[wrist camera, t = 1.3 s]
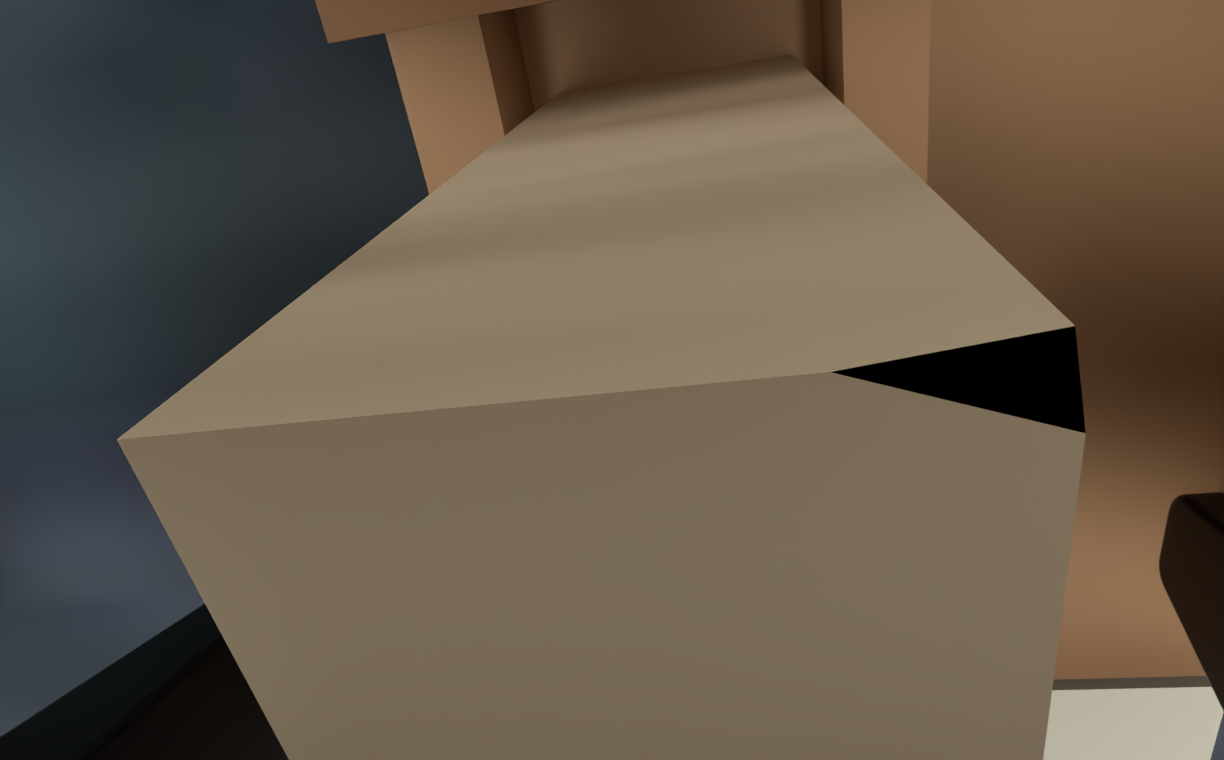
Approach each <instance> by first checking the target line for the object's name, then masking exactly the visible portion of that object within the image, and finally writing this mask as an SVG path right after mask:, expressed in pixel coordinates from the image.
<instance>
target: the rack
mask: <svg viewBox="0 0 1224 760" xmlns="http://www.w3.org/2000/svg"><path fill="white" fill-rule="evenodd" d="M315 2H316V5H317V8H318V12H319V15H320V18H321V21H322V25H323V28H324V31H325V34H326V38H327V41H328V43H333V42H339V41H344V40H350V39H355V38H361V37H367V36H372V35H378V34H384V33H385V35H386V39H387V42H388V46H389V50H390V53H391V57H392V60H393V64H394V68H395V71H396V75H397V79H398V82H399V86H400V89H401V93H402V97H403V100H404V104H405V108H406V111H407V115H408V119H409V122H410V126H411V129H412V133H413V137H414V140H415V144H416V148H417V151H418V155H419V158H420V162H421V166H422V169H423V173H424V177H425V180H426V184H427V188H428V191H429V195H430V194H431V193H432V192H433V191H435V190H436V189H437V188H439V187H440V186H441V185H442V184H444V183H445V182H446V181H448V180H449V179H450V178H451V177H453V176H454V175H455V174H456V173H458V172H459V171H460V170H462V169H463V168H464V167H465V166H467V165H468V164H469V163H471V162H472V161H473V160H474V159H476V158H477V157H478V156H479V155H481V154H482V153H483V152H485V151H486V150H487V149H488V148H490V147H491V146H492V145H494V144H495V143H496V142H497V141H499V140H500V139H501V138H502V137H504V136H505V135H506V134H508V133H509V132H510V131H511V130H513V129H514V128H515V127H516V126H518V125H519V124H520V123H522V122H523V121H524V120H525V119H527V118H528V117H529V116H531V115H532V114H533V113H534V112H536V111H537V110H538V109H539V108H541V107H542V106H543V105H545V104H546V103H547V102H548V101H550V100H551V99H552V98H554V97H555V96H556V95H557V94H559V93H563V92H569V91H575V90H581V89H587V88H593V87H599V86H605V85H611V84H617V83H623V82H628V81H634V80H640V79H646V78H652V77H658V76H664V75H670V74H676V73H682V72H688V71H694V70H700V69H706V68H712V67H718V66H724V65H730V64H736V63H742V62H748V61H754V60H760V59H766V58H772V57H778V56H784V55H790V54H791V55H792V56H793V57H794V58H795V59H797V60H798V61H799V62H800V63H801V64H802V65H803V66H804V67H805V68H806V69H807V70H808V71H809V72H810V73H811V74H812V75H813V76H814V77H815V78H816V79H817V80H818V81H820V82H821V83H822V84H823V85H824V86H825V87H826V88H827V89H828V90H829V91H830V92H831V93H832V94H833V95H834V96H835V97H836V98H837V99H838V100H839V101H840V102H842V103H843V104H844V105H845V106H846V107H847V108H848V109H849V110H850V111H851V112H852V113H853V114H854V115H855V116H856V117H857V118H858V119H859V120H860V121H861V122H862V123H863V124H865V125H866V126H867V127H868V128H869V129H870V130H871V131H872V132H873V133H874V134H875V135H876V136H877V137H878V138H879V139H880V140H881V141H882V142H883V143H884V144H885V145H887V146H888V147H889V148H890V149H891V150H892V151H893V152H894V153H895V154H896V155H897V156H898V157H899V158H900V159H901V160H902V161H903V162H904V163H905V164H906V165H907V166H908V167H910V168H911V169H912V170H913V171H914V172H915V173H916V174H917V175H918V176H919V177H920V178H921V179H922V180H923V181H924V182H925V183H926V184H927V185H928V186H929V187H930V188H932V189H933V190H934V191H935V192H936V193H937V194H938V195H939V196H940V197H941V198H942V199H943V200H944V201H945V202H946V203H947V204H948V205H949V206H950V207H951V208H952V209H953V210H955V211H956V212H957V213H958V214H959V215H960V216H961V217H962V218H963V219H964V220H965V221H966V222H967V223H968V224H969V225H970V226H971V227H972V228H973V229H974V230H975V231H977V232H978V233H979V234H980V235H981V236H982V237H983V238H984V239H985V240H986V241H987V242H988V243H989V244H990V245H991V246H992V247H993V248H994V249H995V250H996V251H997V252H998V253H1000V254H1001V255H1002V256H1003V257H1004V258H1005V259H1006V260H1007V261H1008V262H1009V263H1010V264H1011V265H1012V266H1013V267H1014V268H1015V269H1016V270H1017V271H1018V272H1019V273H1020V274H1022V275H1023V276H1024V277H1025V278H1026V279H1027V280H1028V281H1029V282H1030V283H1031V284H1032V285H1033V286H1034V287H1035V288H1036V289H1037V290H1038V291H1039V292H1040V293H1041V294H1042V295H1043V296H1045V297H1046V298H1047V299H1048V300H1049V301H1050V302H1051V303H1052V304H1053V305H1054V306H1055V307H1056V308H1057V309H1058V310H1059V311H1060V312H1061V313H1062V314H1063V315H1064V316H1065V317H1067V318H1068V319H1069V320H1070V321H1071V322H1072V323H1073V324H1074V325H1075V328H1076V338H1077V349H1078V359H1079V369H1080V379H1081V390H1082V400H1083V410H1084V420H1085V431H1086V436H1085V443H1084V451H1083V459H1082V466H1081V474H1080V481H1079V489H1078V497H1077V504H1076V512H1075V520H1074V527H1073V535H1072V543H1071V550H1070V558H1069V566H1068V573H1067V581H1066V589H1065V596H1064V604H1063V612H1062V619H1061V627H1060V635H1059V642H1058V650H1057V657H1056V665H1055V673H1054V680H1058V679H1098V678H1138V677H1178V676H1206V674H1205V672H1204V670H1203V668H1202V666H1201V664H1200V662H1199V660H1198V657H1197V655H1196V653H1195V651H1194V649H1193V647H1192V645H1191V643H1190V641H1189V639H1188V637H1187V634H1186V632H1185V630H1184V628H1183V626H1182V624H1181V622H1180V620H1179V618H1178V616H1177V613H1176V611H1175V609H1174V607H1173V605H1172V603H1171V601H1170V599H1169V597H1168V595H1167V593H1166V590H1165V588H1164V586H1163V584H1162V580H1161V577H1160V572H1159V557H1160V552H1161V547H1162V542H1163V536H1164V531H1165V526H1166V521H1167V516H1168V511H1169V508H1170V505H1171V503H1172V501H1173V500H1174V499H1175V498H1176V497H1178V496H1180V495H1183V494H1196V493H1212V492H1219V488H1220V484H1221V480H1222V475H1223V471H1224V0H315Z"/></svg>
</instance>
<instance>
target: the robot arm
mask: <svg viewBox="0 0 1224 760" xmlns="http://www.w3.org/2000/svg"><path fill="white" fill-rule="evenodd" d="M1159 572H1160V577H1161V580H1162V584H1163V586H1164V588H1165V590H1166V593H1167V595H1168V597H1169V599H1170V601H1171V603H1172V605H1173V607H1174V609H1175V611H1176V613H1177V616H1178V618H1179V620H1180V622H1181V624H1182V626H1183V628H1184V630H1185V632H1186V634H1187V637H1188V639H1189V641H1190V643H1191V645H1192V647H1193V649H1194V651H1195V653H1196V655H1197V657H1198V660H1199V662H1200V664H1201V666H1202V668H1203V670H1204V672H1205V674H1206V676H1207V678H1208V680H1209V683H1210V685H1211V687H1212V689H1213V691H1214V693H1215V695H1216V697H1217V699H1218V701H1219V704H1220V706H1221V708H1222V710H1223V712H1224V493H1223V492H1212V493H1196V494H1183V495H1180V496H1178V497H1176V498H1175V499H1174V500H1173V501H1172V503H1171V505H1170V508H1169V511H1168V516H1167V521H1166V526H1165V531H1164V536H1163V542H1162V547H1161V552H1160V557H1159ZM0 760H289V759H288V757H287V755H286V753H285V751H284V750H283V748H282V746H281V744H280V742H279V740H278V738H277V737H276V735H275V733H274V731H273V729H272V727H271V725H270V724H269V722H268V720H267V718H266V716H265V714H264V712H263V711H262V709H261V707H260V705H259V703H258V701H257V699H256V698H255V696H254V694H253V692H252V690H251V688H250V686H249V685H248V683H247V681H246V679H245V677H244V675H243V673H242V672H241V670H240V668H239V666H238V664H237V662H236V660H235V658H234V657H233V655H232V653H231V651H230V649H229V647H228V645H227V644H226V642H225V640H224V638H223V636H222V634H221V632H220V631H219V629H218V627H217V625H216V623H215V621H214V619H213V618H212V616H211V614H210V612H209V610H208V608H207V606H206V605H205V604H204V605H202V606H201V607H199V608H197V609H196V610H194V611H193V612H191V613H190V614H188V615H187V616H185V617H184V618H182V619H181V620H179V621H177V622H176V623H174V624H173V625H171V626H170V627H168V628H167V629H165V630H164V631H162V632H161V633H159V634H157V635H156V636H154V637H153V638H151V639H150V640H148V641H147V642H145V643H144V644H142V645H141V646H139V647H137V648H136V649H134V650H133V651H131V652H130V653H128V654H127V655H125V656H124V657H122V658H121V659H119V660H117V661H116V662H114V663H113V664H111V665H110V666H108V667H107V668H105V669H104V670H102V671H101V672H99V673H97V674H96V675H94V676H93V677H91V678H90V679H88V680H87V681H85V682H84V683H82V684H81V685H79V686H77V687H76V688H74V689H73V690H71V691H70V692H68V693H67V694H65V695H64V696H62V697H61V698H59V699H57V700H56V701H54V702H53V703H51V704H50V705H48V706H47V707H45V708H44V709H42V710H41V711H39V712H37V713H36V714H34V715H33V716H31V717H30V718H28V719H27V720H25V721H24V722H22V723H21V724H19V725H17V726H16V727H14V728H13V729H11V730H10V731H8V732H7V733H5V734H4V735H2V736H1V737H0Z"/></svg>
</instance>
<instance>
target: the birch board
mask: <svg viewBox="0 0 1224 760" xmlns="http://www.w3.org/2000/svg"><path fill="white" fill-rule="evenodd" d="M1085 436H1086V431H1085V420H1084V410H1083V400H1082V390H1081V379H1080V369H1079V359H1078V349H1077V338H1076V328H1075V325H1074V324H1073V323H1072V322H1071V321H1070V320H1069V319H1068V318H1067V317H1065V316H1064V315H1063V314H1062V313H1061V312H1060V311H1059V310H1058V309H1057V308H1056V307H1055V306H1054V305H1053V304H1052V303H1051V302H1050V301H1049V300H1048V299H1047V298H1046V297H1045V296H1043V295H1042V294H1041V293H1040V292H1039V291H1038V290H1037V289H1036V288H1035V287H1034V286H1033V285H1032V284H1031V283H1030V282H1029V281H1028V280H1027V279H1026V278H1025V277H1024V276H1023V275H1022V274H1020V273H1019V272H1018V271H1017V270H1016V269H1015V268H1014V267H1013V266H1012V265H1011V264H1010V263H1009V262H1008V261H1007V260H1006V259H1005V258H1004V257H1003V256H1002V255H1001V254H1000V253H998V252H997V251H996V250H995V249H994V248H993V247H992V246H991V245H990V244H989V243H988V242H987V241H986V240H985V239H984V238H983V237H982V236H981V235H980V234H979V233H978V232H977V231H975V230H974V229H973V228H972V227H971V226H970V225H969V224H968V223H967V222H966V221H965V220H964V219H963V218H962V217H961V216H960V215H959V214H958V213H957V212H956V211H955V210H953V209H952V208H951V207H950V206H949V205H948V204H947V203H946V202H945V201H944V200H943V199H942V198H941V197H940V196H939V195H938V194H937V193H936V192H935V191H934V190H933V189H932V188H930V187H929V186H928V185H927V184H926V183H925V182H924V181H923V180H922V179H921V178H920V177H919V176H918V175H917V174H916V173H915V172H914V171H913V170H912V169H911V168H910V167H908V166H907V165H906V164H905V163H904V162H903V161H902V160H901V159H900V158H899V157H898V156H897V155H896V154H895V153H894V152H893V151H892V150H891V149H890V148H889V147H888V146H887V145H885V144H884V143H883V142H882V141H881V140H880V139H879V138H878V137H877V136H876V135H875V134H874V133H873V132H872V131H871V130H870V129H869V128H868V127H867V126H866V125H865V124H863V123H862V122H861V121H860V120H859V119H858V118H857V117H856V116H855V115H854V114H853V113H852V112H851V111H850V110H849V109H848V108H847V107H846V106H845V105H844V104H843V103H842V102H840V101H839V100H838V99H837V98H836V97H835V96H834V95H833V94H832V93H831V92H830V91H829V90H828V89H827V88H826V87H825V86H824V85H823V84H822V83H821V82H820V81H818V80H817V79H816V78H815V77H814V76H813V75H812V74H811V73H810V72H809V71H808V70H807V69H806V68H805V67H804V66H803V65H802V64H801V63H800V62H799V61H798V60H797V59H795V58H794V57H793V56H792V55H791V54H790V55H784V56H778V57H772V58H766V59H760V60H754V61H748V62H742V63H736V64H730V65H724V66H718V67H712V68H706V69H700V70H694V71H688V72H682V73H676V74H670V75H664V76H658V77H652V78H646V79H640V80H634V81H628V82H623V83H617V84H611V85H605V86H599V87H593V88H587V89H581V90H575V91H569V92H563V93H559V94H557V95H556V96H555V97H554V98H552V99H551V100H550V101H548V102H547V103H546V104H545V105H543V106H542V107H541V108H539V109H538V110H537V111H536V112H534V113H533V114H532V115H531V116H529V117H528V118H527V119H525V120H524V121H523V122H522V123H520V124H519V125H518V126H516V127H515V128H514V129H513V130H511V131H510V132H509V133H508V134H506V135H505V136H504V137H502V138H501V139H500V140H499V141H497V142H496V143H495V144H494V145H492V146H491V147H490V148H488V149H487V150H486V151H485V152H483V153H482V154H481V155H479V156H478V157H477V158H476V159H474V160H473V161H472V162H471V163H469V164H468V165H467V166H465V167H464V168H463V169H462V170H460V171H459V172H458V173H456V174H455V175H454V176H453V177H451V178H450V179H449V180H448V181H446V182H445V183H444V184H442V185H441V186H440V187H439V188H437V189H436V190H435V191H433V192H432V193H431V194H430V195H428V196H427V197H426V198H425V199H423V200H422V201H421V202H419V203H418V204H417V205H416V206H414V207H413V208H412V209H411V210H409V211H408V212H407V213H405V214H404V215H403V216H402V217H400V218H399V219H398V220H396V221H395V222H394V223H393V224H391V225H390V226H389V227H388V228H386V229H385V230H384V231H382V232H381V233H380V234H379V235H377V236H376V237H375V238H373V239H372V240H371V241H370V242H368V243H367V244H366V245H365V246H363V247H362V248H361V249H359V250H358V251H357V252H356V253H354V254H353V255H352V256H351V257H349V258H348V259H347V260H345V261H344V262H343V263H342V264H340V265H339V266H338V267H336V268H335V269H334V270H333V271H331V272H330V273H329V274H328V275H326V276H325V277H324V278H322V279H321V280H320V281H319V282H317V283H316V284H315V285H313V286H312V287H311V288H310V289H308V290H307V291H306V292H305V293H303V294H302V295H301V296H299V297H298V298H297V299H296V300H294V301H293V302H292V303H291V304H289V305H288V306H287V307H285V308H284V309H283V310H282V311H280V312H279V313H278V314H276V315H275V316H274V317H273V318H271V319H270V320H269V321H268V322H266V323H265V324H264V325H262V326H261V327H260V328H259V329H257V330H256V331H255V332H253V333H252V334H251V335H250V336H248V337H247V338H246V339H245V340H243V341H242V342H241V343H239V344H238V345H237V346H236V347H234V348H233V349H232V350H230V351H229V352H228V353H227V354H225V355H224V356H223V357H222V358H220V359H219V360H218V361H216V362H215V363H214V364H213V365H211V366H210V367H209V368H208V369H206V370H205V371H204V372H202V373H201V374H200V375H199V376H197V377H196V378H195V379H193V380H192V381H191V382H190V383H188V384H187V385H186V386H185V387H183V388H182V389H181V390H179V391H178V392H177V393H176V394H174V395H173V396H172V397H170V398H169V399H168V400H167V401H165V402H164V403H163V404H162V405H160V406H159V407H158V408H156V409H155V410H154V411H153V412H151V413H150V414H149V415H148V416H146V417H145V418H144V419H142V420H141V421H140V422H139V423H137V424H136V425H135V426H133V427H132V428H131V429H130V430H128V431H127V432H126V433H125V434H123V435H122V436H121V437H119V438H118V439H117V441H118V443H119V445H120V446H121V448H122V450H123V452H124V454H125V456H126V458H127V460H128V461H129V463H130V465H131V467H132V469H133V471H134V473H135V474H136V476H137V478H138V480H139V482H140V484H141V486H142V487H143V489H144V491H145V493H146V495H147V497H148V499H149V500H150V502H151V504H152V506H153V508H154V510H155V512H156V513H157V515H158V517H159V519H160V521H161V523H162V525H163V526H164V528H165V530H166V532H167V534H168V536H169V538H170V539H171V541H172V543H173V545H174V547H175V549H176V551H177V552H178V554H179V556H180V558H181V560H182V562H183V564H184V566H185V567H186V569H187V571H188V573H189V575H190V577H191V579H192V580H193V582H194V584H195V586H196V588H197V590H198V592H199V593H200V595H201V597H202V599H203V601H204V603H205V605H206V606H207V608H208V610H209V612H210V614H211V616H212V618H213V619H214V621H215V623H216V625H217V627H218V629H219V631H220V632H221V634H222V636H223V638H224V640H225V642H226V644H227V645H228V647H229V649H230V651H231V653H232V655H233V657H234V658H235V660H236V662H237V664H238V666H239V668H240V670H241V672H242V673H243V675H244V677H245V679H246V681H247V683H248V685H249V686H250V688H251V690H252V692H253V694H254V696H255V698H256V699H257V701H258V703H259V705H260V707H261V709H262V711H263V712H264V714H265V716H266V718H267V720H268V722H269V724H270V725H271V727H272V729H273V731H274V733H275V735H276V737H277V738H278V740H279V742H280V744H281V746H282V748H283V750H284V751H285V753H286V755H287V757H288V759H289V760H1043V757H1044V749H1045V742H1046V734H1047V726H1048V719H1049V711H1050V703H1051V696H1052V688H1053V680H1054V673H1055V665H1056V657H1057V650H1058V642H1059V635H1060V627H1061V619H1062V612H1063V604H1064V596H1065V589H1066V581H1067V573H1068V566H1069V558H1070V550H1071V543H1072V535H1073V527H1074V520H1075V512H1076V504H1077V497H1078V489H1079V481H1080V474H1081V466H1082V459H1083V451H1084V443H1085Z"/></svg>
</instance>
